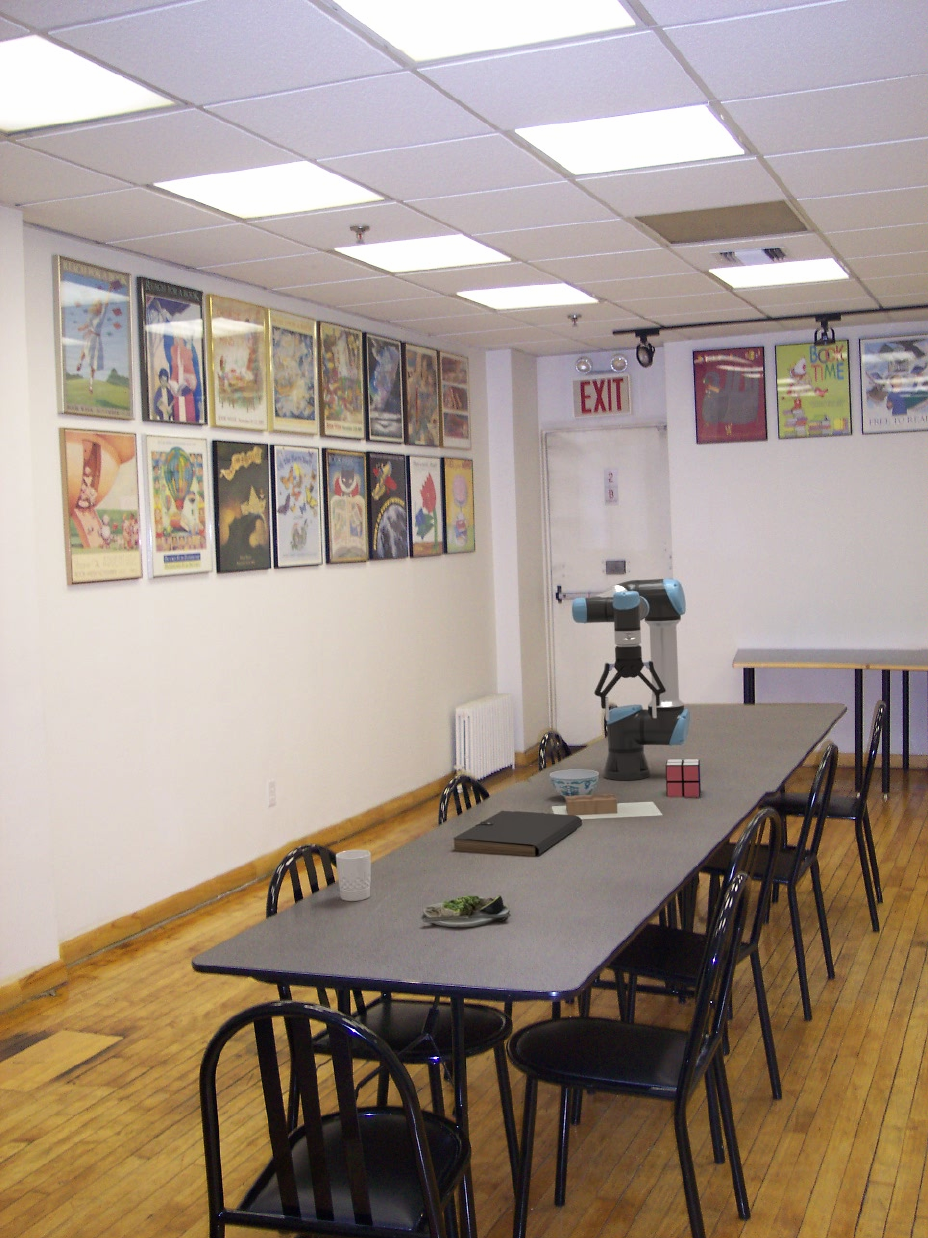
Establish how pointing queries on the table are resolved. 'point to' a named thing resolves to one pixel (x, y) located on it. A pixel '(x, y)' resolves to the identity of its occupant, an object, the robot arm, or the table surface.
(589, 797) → the walnut block
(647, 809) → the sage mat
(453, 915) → the salad plate
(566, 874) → the table surface
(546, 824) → the file folder
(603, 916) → the table surface
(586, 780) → the chinaware
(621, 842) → the table surface
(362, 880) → the white cup
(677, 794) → the puzzle cube
